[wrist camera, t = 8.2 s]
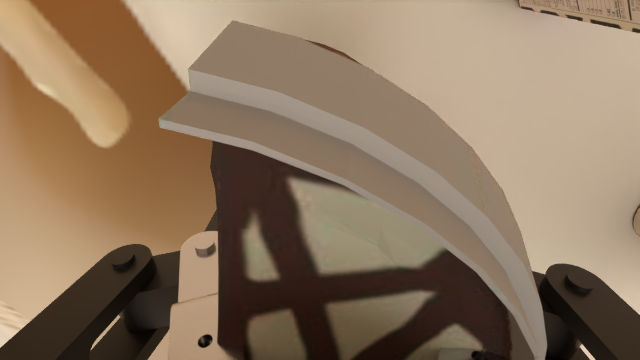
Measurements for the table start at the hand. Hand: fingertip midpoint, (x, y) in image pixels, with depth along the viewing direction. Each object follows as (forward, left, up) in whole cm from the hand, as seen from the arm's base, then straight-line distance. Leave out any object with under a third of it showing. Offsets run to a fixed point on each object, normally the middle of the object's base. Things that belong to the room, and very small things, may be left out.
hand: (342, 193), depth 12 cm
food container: (-1, 0, -2) cm, 2 cm away
